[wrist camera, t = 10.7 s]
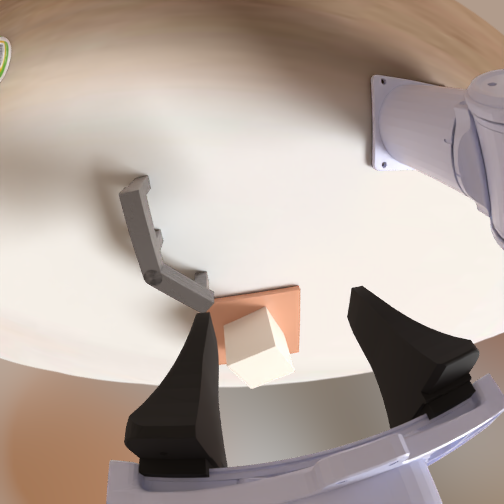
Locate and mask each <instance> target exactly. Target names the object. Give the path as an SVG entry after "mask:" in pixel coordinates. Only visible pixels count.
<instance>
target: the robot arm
mask: <svg viewBox="0 0 504 504" xmlns="http://www.w3.org/2000/svg"><path fill="white" fill-rule="evenodd" d="M381 79H383V81H384V84H382V83H381ZM371 90H372V119H373V151H372V166H373V168H374V169H375V170H378V171H382V170H417V171H419V172H421V173H424V174H426V175H428V176H430V177H432V178H434V179H436V180H438V181H440V182H442V183H444V184H445V185H447V186H449V187H451V188H453V189H455V190H457V191H459V192H460V193H462V194H464V195H466V196H468V197H469V198H471V199H472V200H474V201H475V203H476V205H477V209H478V210H479V211H481V212H482V213H484V214H485V215H487V216H488V217H490V226H491V231H492V234H493V236H494V238H495V240H496V241H497V243H498V244H499V245H500V247H501V248H502V249H503V250H504V69H499V70H493V71H489V72H486V73H483V74H481V75H479V76H477V77H476V78H474V79H473V80H472V82H471V83H470V85H469V87H468V88H467V89H460V88H452V87H441V86H436V85H432V84H427V83H423V82H418V81H413V80H407V79H402V78H396V77H389V76H382V75H373V76H372V78H371ZM383 162H384V166H382V163H383ZM347 318H348V321H349V323H350V326H351V329H352V331H353V334H354V335H355V337H356V339H357V341H358V343H359V345H360V347H361V348H362V350H363V352H364V354H365V356H366V358H367V360H368V361H369V363H370V365H371V367H372V370H373V372H374V374H375V377H376V380H377V382H378V385H379V388H380V391H381V394H382V397H383V400H384V404H385V408H386V411H387V415H388V419H389V424H390V429H389V430H387V431H384V432H382V433H379V434H376V435H373V436H371V437H368V438H365V439H362V440H359V441H356V442H353V443H350V444H347V445H343V446H340V447H336V448H333V449H329V450H325V451H321V452H317V453H313V454H309V455H305V456H300V457H296V458H291V459H286V460H280V461H275V462H268V463H262V464H254V465H247V466H237V467H227V461H226V455H225V449H224V443H223V436H222V429H221V420H220V411H219V403H218V402H219V401H218V380H219V355H218V345H217V338H216V335H215V331H214V327H213V323H212V319H211V315H210V312H204V313H197V314H196V316H195V319H194V322H193V325H192V328H191V330H190V333H189V335H188V337H187V340H186V342H185V344H184V346H183V348H182V350H181V352H180V354H179V356H178V358H177V360H176V361H175V363H174V365H173V366H172V368H171V369H170V371H169V373H168V374H167V375H166V377H165V378H164V380H163V381H162V382H161V384H160V385H159V386H158V388H157V389H156V390H155V391H154V392H153V393H152V394H151V395H150V397H149V398H148V399H147V400H146V401H145V402H144V403H143V404H142V405H141V406H140V407H139V408H138V409H137V410H135V411H134V412H133V413H132V414H131V415H130V416H129V419H128V422H127V426H126V432H125V440H124V443H125V445H126V447H127V448H128V449H129V450H130V451H132V452H133V453H134V454H135V455H137V456H138V457H139V458H140V461H139V464H137V463H134V462H126V461H116V460H111V461H110V464H109V474H108V486H107V501H106V504H443V503H442V501H441V498H440V496H439V493H438V491H437V488H436V486H435V483H434V481H433V478H432V476H431V474H430V471H429V469H428V467H427V466H429V465H431V464H432V463H434V462H436V461H437V460H439V459H441V458H442V457H444V456H445V455H447V454H449V453H450V452H452V451H454V450H455V449H457V448H458V447H459V446H461V445H463V444H464V443H465V442H467V441H468V440H470V439H471V438H473V437H474V436H475V435H477V434H478V433H480V432H481V431H482V430H484V429H485V428H486V427H488V426H489V425H490V424H491V423H492V422H493V421H494V420H495V419H496V418H497V417H498V416H499V415H500V414H501V413H502V412H503V411H504V395H503V393H502V392H501V390H500V389H499V387H498V385H497V384H496V382H495V381H494V379H493V378H492V377H491V375H490V374H489V373H488V374H486V375H484V376H483V377H481V378H480V379H478V380H477V381H475V382H474V383H473V384H471V382H470V380H471V376H470V374H469V372H470V371H471V369H472V368H473V366H474V364H475V363H476V361H477V359H478V357H479V351H478V349H477V348H476V346H475V345H474V344H473V343H472V341H471V340H467V339H463V338H458V337H454V336H451V335H447V334H444V333H441V332H438V331H436V330H434V329H431V328H429V327H426V326H424V325H422V324H420V323H418V322H416V321H414V320H412V319H411V318H409V317H407V316H405V315H404V314H402V313H401V312H399V311H397V310H396V309H394V308H393V307H391V306H390V305H388V304H387V303H386V302H384V301H383V300H381V299H380V298H379V297H377V296H376V295H374V294H373V293H372V292H370V291H369V290H367V289H366V288H364V287H363V286H359V287H355V288H352V289H351V296H350V303H349V310H348V316H347Z"/></svg>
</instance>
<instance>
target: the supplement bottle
mask: <svg viewBox="0 0 504 504" xmlns="http://www.w3.org/2000/svg"><path fill="white" fill-rule="evenodd" d="M10 59H11V45H10V42H9V41H8V39H7V38H5V37H2V36H0V82H1V80H2V79H3V77H4V75H5V74H6V71H7V69H8V66H9V63H10Z"/></svg>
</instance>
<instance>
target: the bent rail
mask: <svg viewBox="0 0 504 504" xmlns="http://www.w3.org/2000/svg"><path fill="white" fill-rule="evenodd" d="M150 189H151V187H150V183H149V178H148V176H144V177H139V178H135V179H134V181H133V182H132V183H131V184H130V185H129V186H128V187H125V188H124V189H123V190H122V191H121V192H120V193H119V197H120V201H121V205H122V209H123V213H124V216H125V220H126V223H127V227H128V230H129V234H130V237H131V240H132V244H133V247H134V250H135V253H136V256H137V259H138V262H139V265H140V268H141V271H142V274H143V277H144V280H145V282H146V283H147V284H149V285H151V286H153V287H154V288H156V289H158V290H160V291H161V292H163V293H165V294H167V295H169V296H170V297H172V298H174V299H176V300H178V301H180V302H181V303H183V304H185V305H187V306H189V307H191V308H193V309H195V310H197V311H199V312H200V313H204V312H207V310H208V309H209V308H210V307H211V306H212V305H213V304H214V292H213V291H211V290H209V280H208V275H207V272H202V273H195V281H194V280H192V279H190V278H188V277H187V276H185V275H183V274H182V273H180V272H178V271H176V270H175V269H173V268H171V267H170V266H168V265H166V264H165V263H164V262H163V259H162V255H161V252H160V250H161V247H162V243H163V238H162V234H161V230H156V231H155V229H154V225H153V221H152V217H151V213H150V209H149V205H148V201H147V196H146V194H147V193H148V191H149V190H150Z"/></svg>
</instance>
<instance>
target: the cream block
mask: <svg viewBox="0 0 504 504" xmlns="http://www.w3.org/2000/svg"><path fill="white" fill-rule="evenodd" d="M224 338H225V350H226V362H227V367H228V368H229V369H230V370H231V371H233V372H234V373H235V374H236V375H237V376H238V377H239V378H240V379H241V380H242V381H243V382H244V383H245V384H246V385H247V386H249V387H250V388H251V389H252V388H255V387H258V386H261V385H263V384H266V383H268V382H271V381H274V380H276V379H279V378H281V377H284V376H286V375H288V374H291V373H293V372H295V370H294V366H293V363H292V359H291V356H290V353H289V349H288V346H287V342H286V339H285V336H284V333H283V332H282V330H281V329H280V327H279V326H278V324H277V323H276V321H275V320H274V318H273V317H272V315H271V314H270V312H269V311H268V309H267V308H266V306H265V307H263V308H261V309H259V310H257V311H255V312H253V313H250V314H248V315H246V316H244V317H242V318H239V319H237V320H235V321H233V322H231V323H228V324H226V325H224Z"/></svg>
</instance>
